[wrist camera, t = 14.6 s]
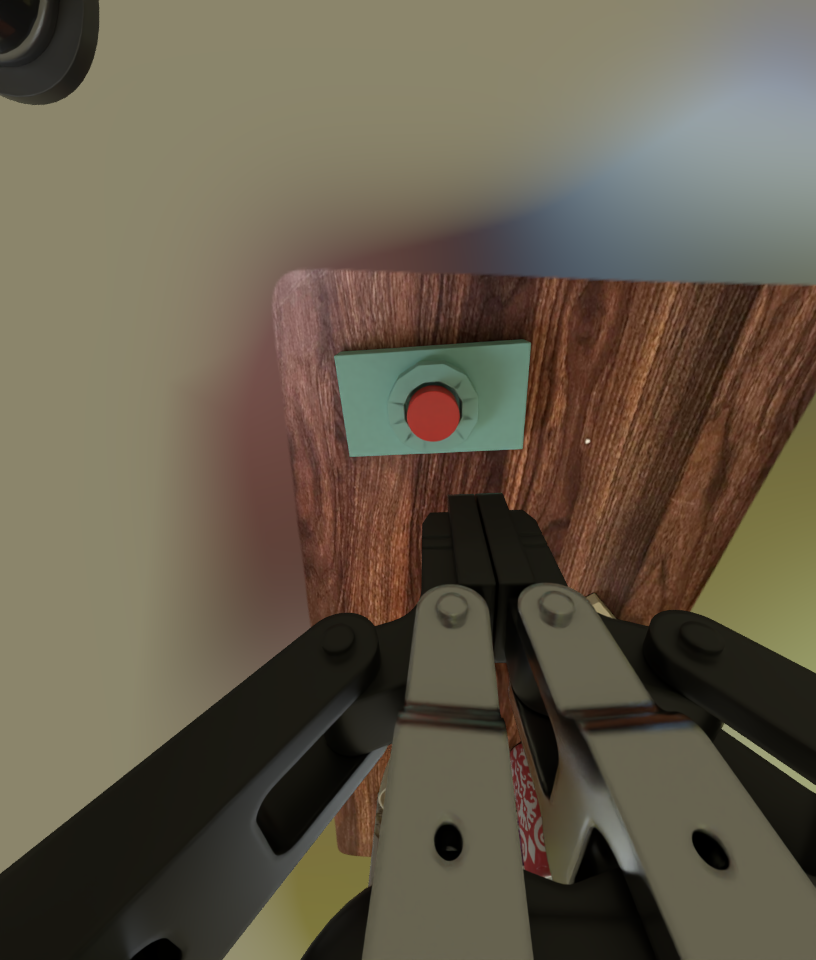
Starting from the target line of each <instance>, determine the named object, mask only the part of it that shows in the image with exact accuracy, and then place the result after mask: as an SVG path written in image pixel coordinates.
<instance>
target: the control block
mask: <svg viewBox="0 0 816 960" xmlns="http://www.w3.org/2000/svg"><path fill="white" fill-rule="evenodd" d="M530 349H531V342H528V341H526V340H524V339H519V340H504V341H489V342H475V343H460V344H446V345H431V346H416V347H402V348H387V349H373V350H358V351H343V352H340V353H338V354H337V355H335V356H334V358H335V365H336V371H337V378H338V384H339V390H340V397H341V403H342V410H343V416H344V422H345V429H346V435H347V442H348V448H349V455H350V457H356V456H378V455H399V454H421V453H424V454H425V453H446V452H465V451H487V450H509V449H522V448H523V437H524V425H525V412H526V400H527V387H528V374H529V362H530ZM429 385H438V386H442V387H444V388H446V389H448V390H449V391H450V392H451V393H452V394H453V395H454V397H455V399H456V401H457V404H458V408H459V412H460V419H459V423H458V426H457V428H456V430H455V431H454V432H453V433H452V434H451V435H450V436H449V437H447V438H446V439H444V440H441V441H435V442H430V441H425V440H422V439H420V438H419V437H417V436H416V435H415V434H414V433H413V432H412V431H411V429H410V427H409V425H408V422H407V411H408V406H409V402H410V400H411V398H412V396H413V395H414V394H415V393H416V392H417V391H418V390H419V389H421V388H423V387H425V386H429Z"/></svg>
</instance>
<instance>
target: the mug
mask: <svg viewBox="0 0 816 960" xmlns="http://www.w3.org/2000/svg"><path fill="white" fill-rule="evenodd" d="M510 760H511V768H512V775H513V783H514V791H515V798H516V806H517V813H518V821H519V828H520V837H521V844H522V852H523V860H524V867H525V870H526V871H529V872H532V873H534V874H537V875H539V876H542V877H545V878H547V879H550V880H552V877H551V873H550V869H549V865H548V861H547V856H546V851H545V845H544V839H543V829H542V818H541V812H540V807H539V803H538V799H537V795H536V792H535V788H534V785H533V781H532V778H531V774H530V771H529V767H528V763H527V760H526V756H525V753H524V749H523V746H522V743H521V744H519V745H517V746H515V747H514V748H513V749H512V750H511V753H510Z"/></svg>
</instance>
